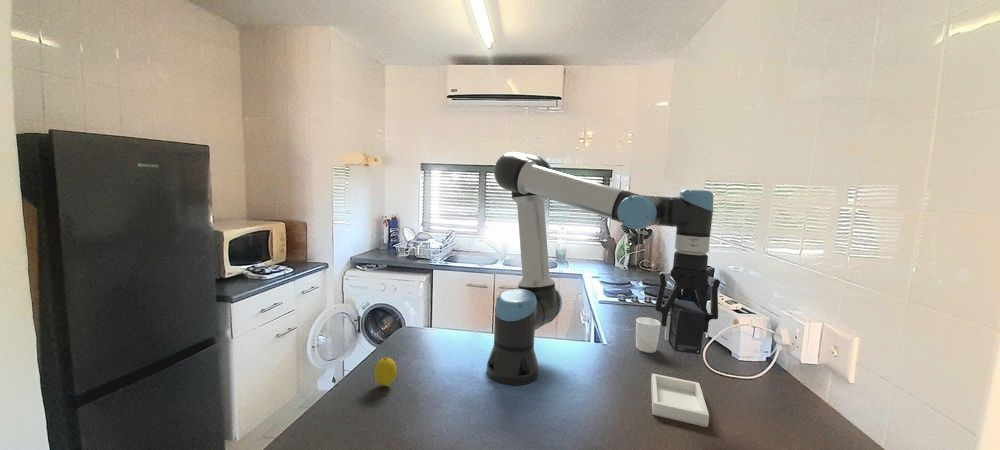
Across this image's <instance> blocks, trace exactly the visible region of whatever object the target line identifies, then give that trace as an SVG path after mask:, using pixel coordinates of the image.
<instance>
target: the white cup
mask: <svg viewBox="0 0 1000 450" xmlns="http://www.w3.org/2000/svg"><path fill="white" fill-rule="evenodd" d="M661 326H662V324H661V322H660V321H659V320H657V319H655V318H651V317H647V316H644V317H642V316H641V317H640V316H639V317H636V319H635V348H636V349H637V350H638V351H640V352H642V353H649V354H652V353H656V352H657V348H658V343H659V337H660V329H661Z"/></svg>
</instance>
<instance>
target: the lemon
mask: <svg viewBox="0 0 1000 450" xmlns="http://www.w3.org/2000/svg"><path fill="white" fill-rule="evenodd" d="M395 362H396V361H394V360H393V359H392V358H390V357H387V356H385V357H383V358H380V360H378V362H377V363H376V364H375V368H374V379H375V382H376V383H377V384H378V385H380V386H382V387H384V386H386V387H387V386H389V385H391V384H392V383H393V382H394V381H395V379H396V376H397V366H396V363H395Z"/></svg>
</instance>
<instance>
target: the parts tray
mask: <svg viewBox="0 0 1000 450" xmlns="http://www.w3.org/2000/svg"><path fill="white" fill-rule="evenodd" d="M650 379H651V380H650V388H651V389H650V390H651V391H650V393H651V410H652V411H651V413H652V415H653V416H657V417H662V418H666V419H671V420H674V421H678V422H683V423H686V424H691V425H696V426H699V427H703V428H709V422H710V421H709V420H710V414H709V409H708V407H707V404H706V401H705V398H704V397H705V396H704V394H703V391H702V388H701V385H700V383H699V382H697V381H692V380H686V379H683V378H682V379H680V378H677V377H671V376H667V375H662V374H656V373H651V377H650Z"/></svg>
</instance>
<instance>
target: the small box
mask: <svg viewBox="0 0 1000 450" xmlns="http://www.w3.org/2000/svg"><path fill="white" fill-rule="evenodd" d="M668 313H670V315H671V319H670V330H669V341H667V342H668V343H669V345H670V347H671V349H672V350H673V351H674V352H679V353H685V354H686V353H687V354H694V355H701V353H702V345H703V337H704V332H703V329H704V320H705V313H704V312H703V311H702V310H701V309H700V306H698V305H697V304H696V303H695V302H694V301H692V300H691V301H689V300H683V299H677V298H676V299H675V301H674V303H673V305H672V306H671V308H670V310H669V312H668Z"/></svg>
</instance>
